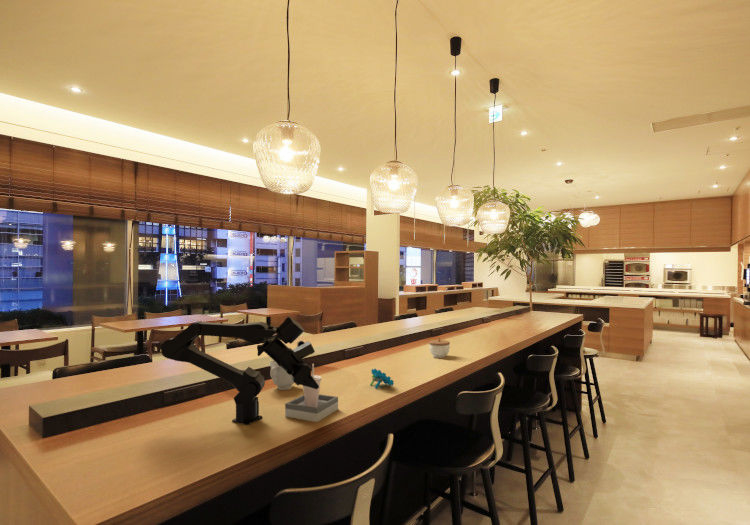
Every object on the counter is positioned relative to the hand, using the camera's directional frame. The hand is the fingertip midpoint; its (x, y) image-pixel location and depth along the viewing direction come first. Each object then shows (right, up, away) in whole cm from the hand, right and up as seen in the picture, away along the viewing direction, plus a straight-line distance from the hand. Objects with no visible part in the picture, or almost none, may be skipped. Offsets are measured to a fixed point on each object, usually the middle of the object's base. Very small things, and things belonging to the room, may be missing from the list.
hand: (315, 385), depth 125 cm
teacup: (-17, -10, +26) cm, 32 cm away
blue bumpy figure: (+22, -9, +26) cm, 35 cm away
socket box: (-1, -9, -1) cm, 9 cm away
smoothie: (-1, -7, -1) cm, 7 cm away
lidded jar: (+53, -10, +78) cm, 94 cm away
